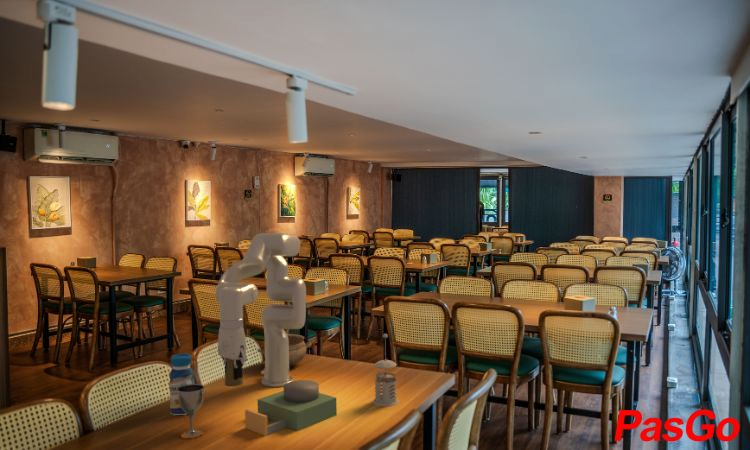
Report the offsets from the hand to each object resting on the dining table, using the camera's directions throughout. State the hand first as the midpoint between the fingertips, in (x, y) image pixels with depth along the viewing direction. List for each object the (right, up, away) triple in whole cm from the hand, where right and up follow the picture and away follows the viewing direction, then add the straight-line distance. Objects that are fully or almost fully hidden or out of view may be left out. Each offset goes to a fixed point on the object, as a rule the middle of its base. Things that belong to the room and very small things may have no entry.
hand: (233, 376), depth 201 cm
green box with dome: (+18, -14, 0) cm, 23 cm away
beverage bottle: (-20, -15, +8) cm, 26 cm away
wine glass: (-10, -15, -12) cm, 22 cm away
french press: (+51, -14, +15) cm, 55 cm away
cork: (0, -3, 0) cm, 3 cm away
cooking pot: (+8, -12, +64) cm, 66 cm away
